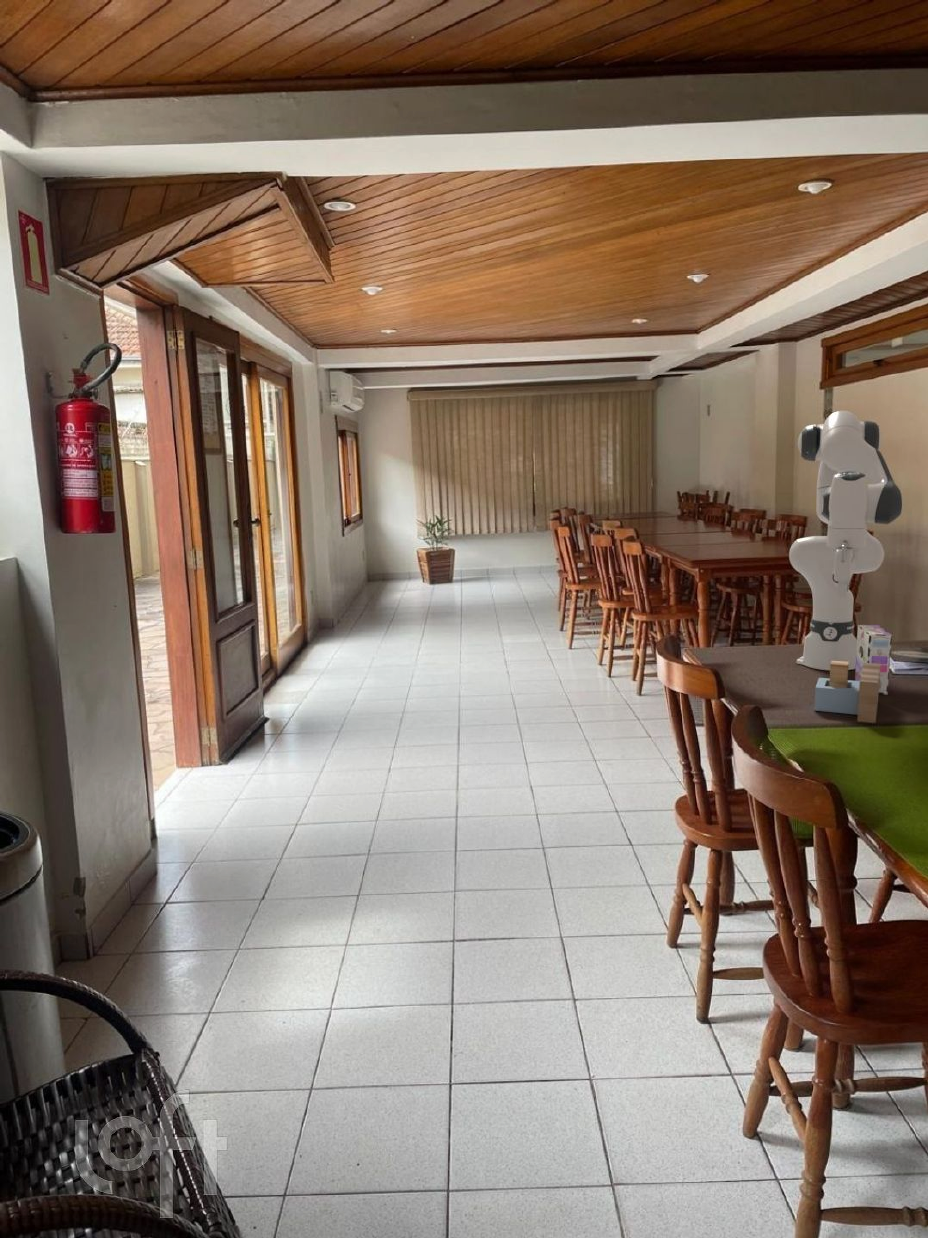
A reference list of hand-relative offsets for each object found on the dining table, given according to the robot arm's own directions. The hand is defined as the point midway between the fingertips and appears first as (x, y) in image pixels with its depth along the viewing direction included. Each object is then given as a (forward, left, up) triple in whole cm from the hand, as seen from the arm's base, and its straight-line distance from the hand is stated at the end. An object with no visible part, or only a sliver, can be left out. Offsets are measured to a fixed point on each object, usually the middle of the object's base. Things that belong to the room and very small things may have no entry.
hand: (843, 594), depth 222 cm
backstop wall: (0, +7, -29) cm, 30 cm away
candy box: (-23, +7, -29) cm, 38 cm away
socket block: (0, 0, -29) cm, 29 cm away
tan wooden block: (0, 0, -27) cm, 27 cm away
